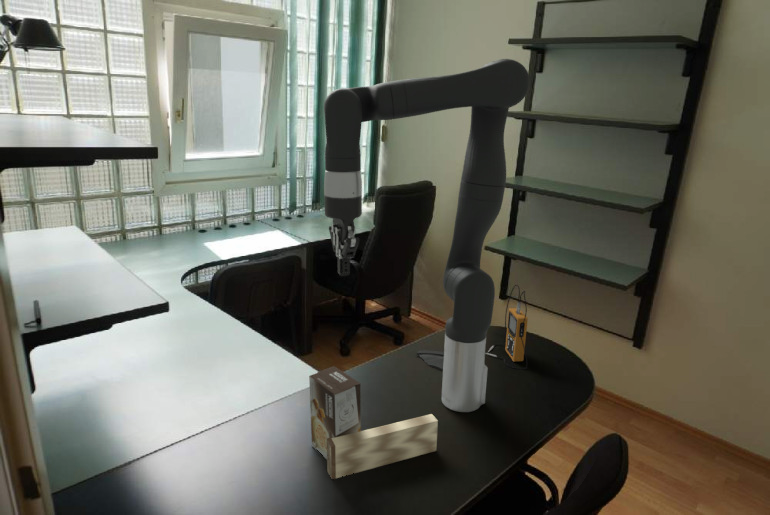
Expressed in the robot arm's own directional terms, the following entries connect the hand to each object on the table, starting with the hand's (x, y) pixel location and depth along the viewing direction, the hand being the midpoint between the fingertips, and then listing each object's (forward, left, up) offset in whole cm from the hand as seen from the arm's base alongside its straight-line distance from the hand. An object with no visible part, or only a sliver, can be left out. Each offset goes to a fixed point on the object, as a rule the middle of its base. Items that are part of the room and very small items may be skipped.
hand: (343, 274), depth 109 cm
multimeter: (-48, -7, -32) cm, 58 cm away
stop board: (-1, +20, -32) cm, 38 cm away
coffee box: (+7, +14, -32) cm, 36 cm away
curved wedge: (-32, -10, -33) cm, 47 cm away
